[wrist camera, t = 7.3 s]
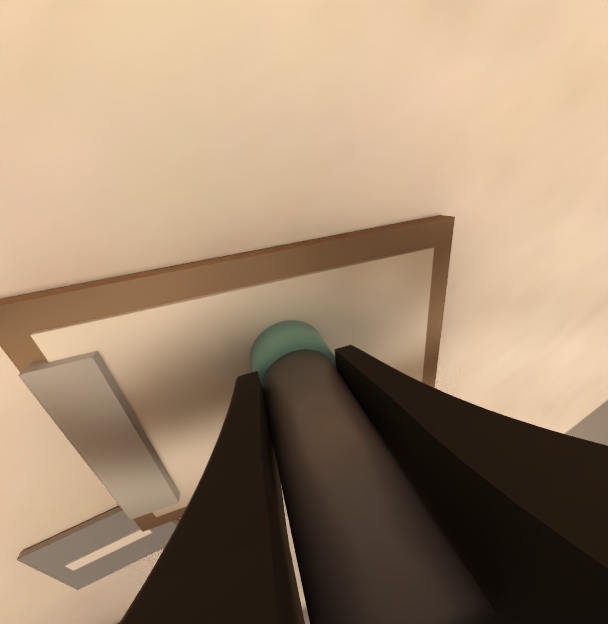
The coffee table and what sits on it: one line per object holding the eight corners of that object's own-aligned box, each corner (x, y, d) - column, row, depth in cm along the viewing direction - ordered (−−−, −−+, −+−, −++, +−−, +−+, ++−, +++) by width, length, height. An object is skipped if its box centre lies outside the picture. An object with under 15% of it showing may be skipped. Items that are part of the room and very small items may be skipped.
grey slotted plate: (188, 529, 15) (188, 537, 14) (80, 582, 14) (76, 592, 14) (148, 492, 13) (146, 501, 13) (21, 551, 12) (15, 562, 12)
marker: (329, 369, 12) (495, 641, 5) (263, 394, 11) (334, 738, 4) (315, 310, 10) (521, 566, 3) (239, 335, 10) (286, 700, 3)
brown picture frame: (420, 417, 17) (436, 435, 15) (146, 514, 14) (139, 546, 12) (440, 215, 11) (466, 218, 10) (-6, 300, 8) (-46, 319, 7)
